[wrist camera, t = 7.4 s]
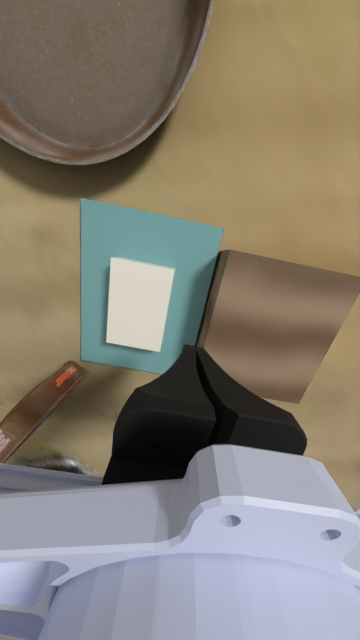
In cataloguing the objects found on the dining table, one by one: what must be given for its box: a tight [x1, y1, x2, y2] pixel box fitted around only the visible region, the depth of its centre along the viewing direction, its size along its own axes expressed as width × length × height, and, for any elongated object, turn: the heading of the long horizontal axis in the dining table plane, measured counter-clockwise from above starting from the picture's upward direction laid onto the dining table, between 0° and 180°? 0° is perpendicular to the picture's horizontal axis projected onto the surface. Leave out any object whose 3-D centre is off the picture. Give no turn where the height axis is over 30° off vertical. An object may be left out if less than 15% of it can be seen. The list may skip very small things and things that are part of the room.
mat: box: [81, 198, 224, 374], centre depth 20 cm, size 18×14×1 cm
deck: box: [197, 250, 360, 404], centre depth 19 cm, size 14×12×4 cm
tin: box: [0, 361, 89, 463], centre depth 21 cm, size 15×3×8 cm, turn 137°
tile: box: [106, 257, 175, 352], centre depth 19 cm, size 9×6×2 cm, turn 169°
